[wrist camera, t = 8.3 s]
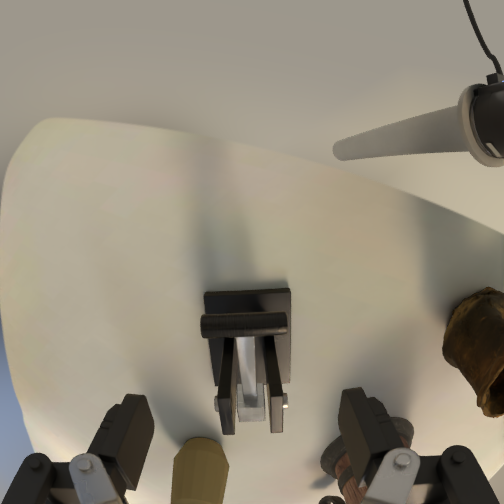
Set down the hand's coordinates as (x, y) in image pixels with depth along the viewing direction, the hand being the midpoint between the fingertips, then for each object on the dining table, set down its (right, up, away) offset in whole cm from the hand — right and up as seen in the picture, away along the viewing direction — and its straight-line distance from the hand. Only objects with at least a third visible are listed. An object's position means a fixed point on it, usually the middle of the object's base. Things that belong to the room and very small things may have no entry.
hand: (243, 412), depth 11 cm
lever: (0, -2, +11) cm, 11 cm away
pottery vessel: (+32, -3, +24) cm, 40 cm away
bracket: (0, -3, +23) cm, 23 cm away
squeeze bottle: (-7, -23, +28) cm, 37 cm away
